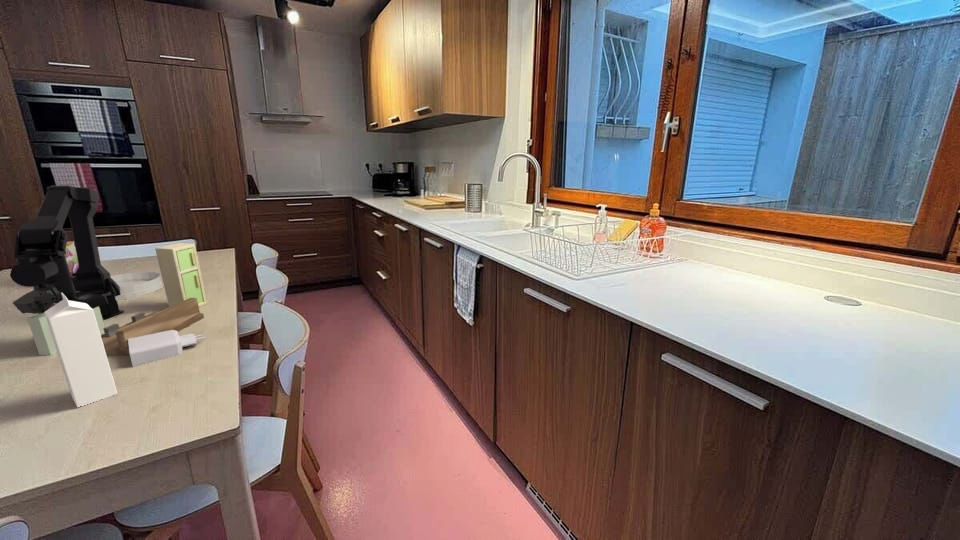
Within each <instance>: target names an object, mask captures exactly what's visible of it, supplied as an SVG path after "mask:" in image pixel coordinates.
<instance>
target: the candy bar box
mask: <svg viewBox="0 0 960 540" xmlns="http://www.w3.org/2000/svg"><path fill="white" fill-rule="evenodd" d="M65 251H66V252H67V253H66V254H65V257H66V261H67V264H68V267H69V271H70V274H71V276H72V274H73V273H75V272H76V271H77V269H78V268H79V264H78V259H77V254H76V248H75V243H74V240H73V241H71V240H69V241H68V240H67V245H66V250H65Z"/></svg>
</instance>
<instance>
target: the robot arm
mask: <svg viewBox="0 0 960 540" xmlns="http://www.w3.org/2000/svg"><path fill="white" fill-rule="evenodd" d="M99 197H100V196H99V193H98V192H97V191H96V190H93V189H92V188H91V187H87V186H86V187H79V186H78V187H76V186H71V185H68V184H67V185H50V186H47V187H46V188H45V196H44V199H43V201H42V203H41V205H40V208H39V210H38V212H37V214H36V216H35V218H34V219H32V220H30V221H27V222H25V223H24V224H23V225H22V226H21V228H20V229H18V230H19V231H18V233H17V234H16V237H15V244H14V245H15V246H14V255H13V258H14V259H16V260H17V262H18V264H16V265H14V266H13V267H12V268H11V270H10V274H9V276H10V279H11V280H12V281H13V282H14V283H15V284H16V285H19V286H20V287H21V286H22V287H24V288H25V287H26V288H32V287H33V290H31V291H29V292H27V293H25V294H23V295H22V296H20V297H18V298H17V299H16V300H14V301H13V302H12V304H13V306H14V307H16V309H17V310H18V311H19V312H20V313H21V314H34V315H38V314H41V313H44V312H45V311H47V310H48V309H50V308H51V307H53V306H54V305H56V304H57V303H59V302H60V301H62V300H63V297H62V294H61V293H63V294H64V295H65V296H66V298H67V299H68V300H70V301H76V302H81V303H87V304H88V305H89V306H90V307H91V308H92V309H93V308H96V307H99V308H100V312H101V315H102V319H103V320H107V319H110V318H112V317H114V316H117V315H119V314H122V313H124V312H125V310H123V309H121V310H120V307H119V303H118V301H117V300H116V299H115V297H116V296H119V295H121V293H120V287H119V286H118V284H117V283H116V282H115V281H114V280H113V279H112V278H111V276H112V275H111V274H110V271H108V270H107V269H106V268H105V267H104V266H103V265H102V262H101V258H100V252H99V247H98V246H99V245H98V240H97V235H96V231H95V225H94V219H93V218H94V216H95V214H96V213H97V211H98V210H99V204H98V203H99V201H100V198H99ZM67 217H68V218H69V221H70V226H71V230H72V231H71V232H72V236H73V241H74V243H75V248H76V254H77V259H78V264H79V268H78V269H77V271H76V272H75V273H73V274H72V276H71V274H70V271H69V267H68V264H67V261H66V257H65V254H66V253H67V252H66V251H65V250H66V245H67V241H68V239H69V237H68V234H67V232H66V231H65V230H64V228H63V227H64V225H65V223H66V219H67Z"/></svg>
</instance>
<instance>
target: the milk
mask: <svg viewBox="0 0 960 540" xmlns="http://www.w3.org/2000/svg"><path fill="white" fill-rule="evenodd" d="M61 294H62V297H63V300H62V301H60V302H59V303H57V304H56V305H54V306H53V307H51V308H50V309H48V310H47V311H45V312H44V314H45V317H46V320H47V323H48V326H49V329H50V332H51V335H52V338H53V341H54V344H55V347H56V350H57V353H56V354H57V355H58V356H57V357H58V359H59V362H60V365H61V368H62V372H63V374H64V377H65V380H66V383H67V386H68V389H69V392H70V396H71V398H72V400H73V402H74V404H75V405H76V407H77V408H78V407H80V406H82V407H85V406H87V404H88V405H91V404H94V403H96V401H97V402H100V401H102V400H105V399H108V398H110V397H113V395H114V396H116V394H117V395H118V391H117V387H116V383H115V380H114V377H113V373H112V370H111V366H110V363H109V359H108V356H107V355H106V352H105V349H104V345H103V342H102V338H101V335H102V334H100V331H99V328H98V324H97V321H96V318H95V314H94V311H93V309H92V308H91V307H90V306H89V305H88V304H87V303H81V302H76V301H70V300H68V299H67V298H66V296H65V295H64V294H63V293H61ZM101 399H102V400H101ZM99 400H100V401H99ZM93 402H94V403H93ZM90 403H91V404H90ZM84 405H85V406H84ZM80 408H81V407H80Z"/></svg>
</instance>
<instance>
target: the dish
mask: <svg viewBox="0 0 960 540" xmlns="http://www.w3.org/2000/svg"><path fill="white" fill-rule="evenodd" d="M110 276H111V278H112V279H113V280H114V281H115V282H116V283H117V284H118V286H119V287H120V293H121V295H119V296H116V297H115V299H116V300H117V302H120V301H119V300H122V301H126V300H125V299H128V300H131V299H130V298H133V299H135V298H134V297H138V296H141V295H145V294H148V293H151V292H154V291H156V290H159V289H160V288H162V287H163V288H164V283H163V280H162V276H161V274H160V273H159V272H154V271H153V272H152V271H139V272H128V273H127V272H126V273H121V274H120V273H119V274H114V275H110ZM163 288H162V289H163ZM159 291H160V290H159ZM145 296H146V295H145ZM138 298H139V297H138Z"/></svg>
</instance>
